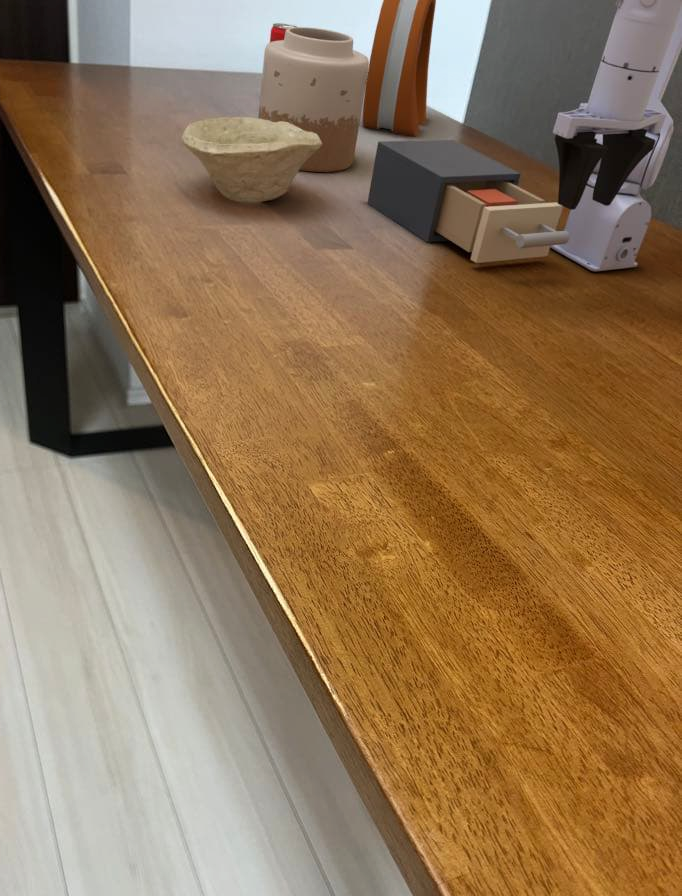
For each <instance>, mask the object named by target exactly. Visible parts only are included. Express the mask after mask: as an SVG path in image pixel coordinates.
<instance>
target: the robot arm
mask: <svg viewBox="0 0 682 896" xmlns="http://www.w3.org/2000/svg"><path fill="white" fill-rule="evenodd" d="M615 7H616V8H617V10H616V12H615V15H614V18H613V21H612V24H611V28H610V31H609V34H608V37H607V40H606V44H605V47H604V50H603V53H602V57H601V60H600V62H599V65H598V70H597V72H596V76H595V79H594V82H593V86H592V88H591V91H590V94H589V97H588V101H587V102H581V103H580V104H579V108H577V109H573V110H570V111H561V112H558V113H557V117H556V120H555V123H554V127H553V130H552V134H553V135H555V136H554V141H555V146H556V151H557V156H558V167H559V168H558V169H559V170H558V171H559V176H558V178H559V180H558V193H557V194H558V196H557V203H558V204H559V205H561V206H563V208H566V209H568V210H569V214H568V216H567V219H566V223H565V226H564V229H563V231H567V232H568V233H569V241H568V242H567V243H566V244H561V245H551V246H550V249H552V250H554V251H555V252H557V253H559V254H561V255H563V257H564V256H565V257H566V258H568V259H570V260H572V262H573V261H574V262H575V263H577V264H579V265H580V266H582V267H584V268H586V269H588V270H589V271H591V272H603V271H612V270H622V269H631V268H636V267H638V262H636V258H637V256H638V253H639V251H640V248H641V245H642V244H643V240H644V238H645V235H646V232H647V231H648V228H649V225H650V223H651V219H652V207H651V204H649V202H648V201H646V200H645V199H643V198H642V196H641V193H640V192H641V190H642V191H647V190H648V189H650V188H651V187H652V186H653V185H654V183H655V181H656V179H657V177H658V175H659V172H660V170H661V167H662V165H663V162H664V159H665V157H666V154H667V152H668V149H669V146H670V145H669V144H670V141H671V139H672V136H673V132H674V128H675V127H674V120H673V118H672V116H671V115H670V114H669V113H670V112H668V110H667V109H666V107H665V106H664V104H663V103H662V98H663V96H664V94H665V91H666V90H667V86H668V84H669V81H670V79H671V76H672V75H673V72H674V69H675V67H676V64H677V62H678V59H679V57H680V55H681V51H682V0H616V2H615Z"/></svg>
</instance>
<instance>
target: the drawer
mask: <svg viewBox="0 0 682 896" xmlns="http://www.w3.org/2000/svg"><path fill="white" fill-rule="evenodd" d="M486 189H496V190H498V191H500V192H502V193H504V194H505V195H507V196H509V197H511V198H513V199H515V200H517V205H508V206H492V207H486V204H485V203H483V202H482V201H480V200H478V199H476V198H475V197H473V196H471V195H469V194H467V191H468V190H486ZM545 200H546V199H543V198H541V197H539V196H537V195H535V194H533V193H531V192H529V191H527V190H525V189H523V188H522V187H520V186H516V185H514V184H512V183H510V182H508V181H506V180H503V181H482V182H461V183H445V188H444V192H443V197H442V201H441V205H440V210H439V214H438V218H437V223H436V227H435V231H436V232H437V233H439V234H441V235H442V236H444V237H445V238H447V239H449V240H450V241H449V242H452V243H453V244H455V245H456V246H458V247H460V248H461V249H463V250H464V251H466V252H468V253H471V254H470V261H471V262H474V263H475V264H482V263H492V262H502V261H512V260H514V261H515V260H522V259H523V260H524V259H532V258H533V259H534V258H544V257H548V255H549V252H550V249H551V248H550V246H551V245H561V244H566V243H567V242H568V241H569V233H568V232H567V231H564V230H558V231H557V226H558V224H559V220H560V217H561V215H562V211H563V208H564V206H561V205H559V204H558V201H557V202H556V201H555V202H545Z"/></svg>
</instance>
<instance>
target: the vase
mask: <svg viewBox="0 0 682 896" xmlns="http://www.w3.org/2000/svg"><path fill="white" fill-rule="evenodd" d="M369 62H370V60H369V58H368V57H367V56H366V55H365V54H363V53H361V52H360V51H358V50H354V37H352V36H350V35H348V34H346V33H343V32H339V31H335V30H331V29H324V28H318V27H308V26H307V27H306V26H297V27H292V28H288V29H287V30H286V32H285V38H284V40H279V41H273V42H270V41H269V43H267V44H266V46H265V48H264V54H263V63H262V72H261V83H260V95H259V96H260V97H259V107H258V117H257V118H259V119H264V120H269V121H272V122H279V121H284V122H288V123H290V124H292V125H295V126H297V127H299V128H300V129H302V130H304V131H307V132H313V133H316V134H317V135H318V136H319V138H320V140H321V142H322V145H321V147H320V148H319V149H318V150H316V151H315V152H314V153H313V154H312V155H311V156H310V157H309V158H308V159H307V160H306V161H305V162H304V163H303V165H302V166H301V168H300V169H299V171H305V172H315V173H331V172H339V171H343V170H346V169H348V168H350V167H351V166H352V164H353V162H354V159H355V153H356V147H357V141H358V134H359V129H360V124H361V123H360V122H361V116H362V112H363V104H364V96H365V88H366V81H367V75H368V68H369Z"/></svg>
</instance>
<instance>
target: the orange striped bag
mask: <svg viewBox="0 0 682 896" xmlns="http://www.w3.org/2000/svg"><path fill="white" fill-rule="evenodd" d="M436 4H437V0H382V3H381V7H380V12H379V15H378V19H377V23H376V26H375V27H376V28H375V32H374V37H373V43H372V47H371V52H370V58H369V66H368V74H367V80H366V86H365V92H364V99H363V105H362V127H364V128H367V129H373V130H379V129H380V128H383V129H386V130H387V129H388V130H390V131H391V132H392V133H394V134H400V135H404V136H411V137H417V136H418V135H419V133H420V126H419V125H424V124H425V122H426V121H427V103H428V102H427V99H428V80H429V79H428V78H429V65H430V54H431V46H432V45H431V44H432V36H433V28H434V27H433V26H434V20H435V11H436Z"/></svg>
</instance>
